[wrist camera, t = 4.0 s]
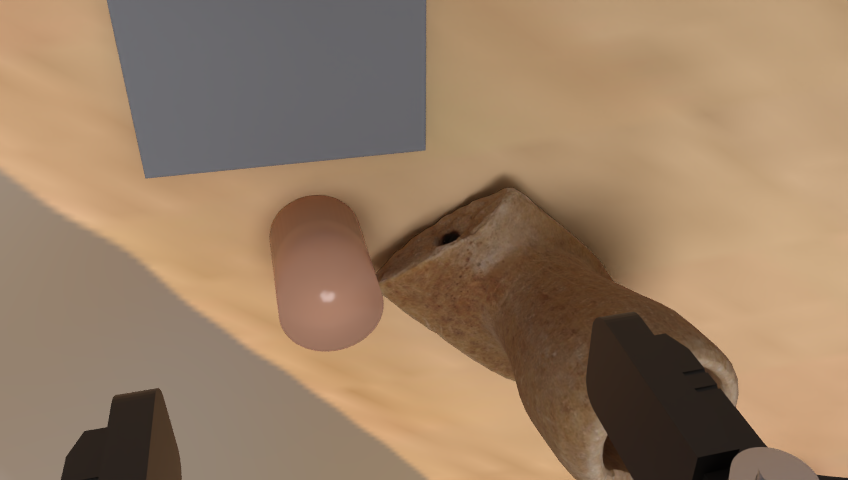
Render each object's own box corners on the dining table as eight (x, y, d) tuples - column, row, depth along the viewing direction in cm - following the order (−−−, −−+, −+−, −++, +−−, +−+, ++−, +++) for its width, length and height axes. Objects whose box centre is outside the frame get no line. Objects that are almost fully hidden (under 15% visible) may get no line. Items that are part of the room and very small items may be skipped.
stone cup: (653, 268, 49) (801, 438, 37) (516, 382, 52) (611, 576, 39) (516, 122, 41) (646, 276, 29) (361, 264, 44) (421, 462, 31)
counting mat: (421, -102, 34) (426, -99, 33) (421, 142, 40) (425, 150, 40) (91, -92, 31) (87, -88, 30) (146, 169, 38) (145, 178, 37)
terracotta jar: (358, 190, 41) (382, 260, 35) (361, 266, 44) (384, 343, 38) (264, 200, 40) (273, 274, 34) (274, 278, 43) (284, 358, 37)
